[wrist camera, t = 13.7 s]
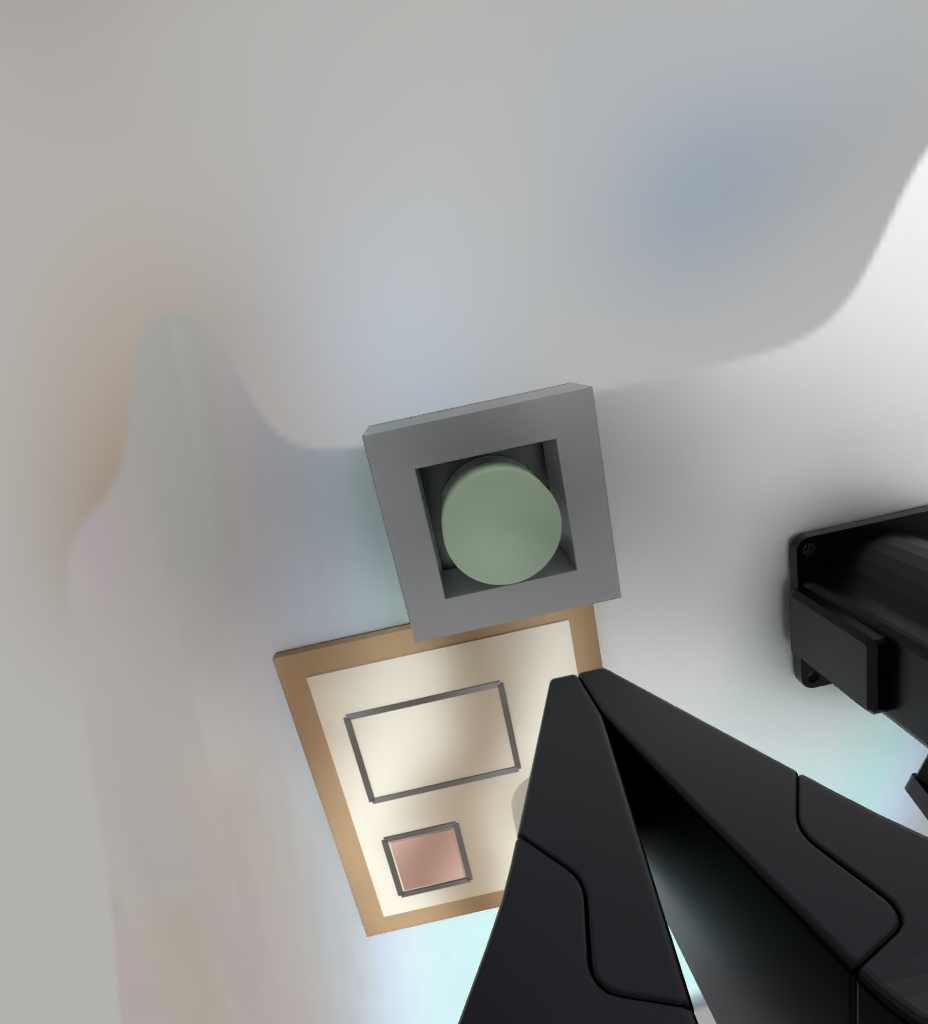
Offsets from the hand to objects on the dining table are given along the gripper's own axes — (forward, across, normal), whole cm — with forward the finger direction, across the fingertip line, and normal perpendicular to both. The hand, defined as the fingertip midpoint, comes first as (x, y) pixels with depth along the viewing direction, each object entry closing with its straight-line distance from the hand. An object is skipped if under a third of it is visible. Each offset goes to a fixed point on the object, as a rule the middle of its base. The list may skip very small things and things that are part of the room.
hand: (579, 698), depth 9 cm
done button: (+11, 0, 0) cm, 11 cm away
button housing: (+12, 0, 0) cm, 12 cm away
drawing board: (+12, +3, +11) cm, 17 cm away
